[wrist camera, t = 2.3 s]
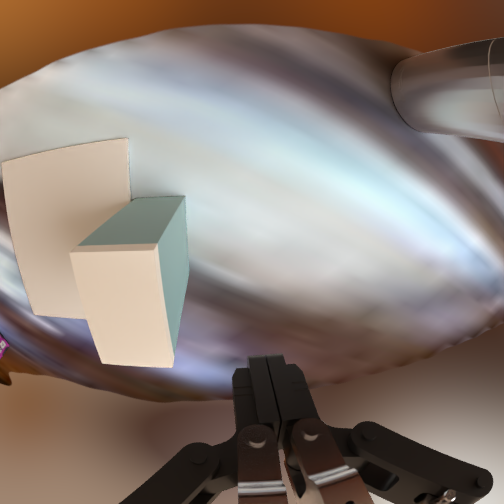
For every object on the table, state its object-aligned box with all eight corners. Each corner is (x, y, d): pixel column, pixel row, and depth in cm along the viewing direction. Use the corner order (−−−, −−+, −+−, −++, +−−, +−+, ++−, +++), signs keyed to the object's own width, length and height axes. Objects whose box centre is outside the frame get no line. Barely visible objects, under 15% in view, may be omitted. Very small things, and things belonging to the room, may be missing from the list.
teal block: (185, 195, 26) (153, 250, 14) (189, 271, 29) (172, 367, 17) (135, 198, 26) (69, 252, 13) (143, 272, 29) (102, 363, 16)
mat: (128, 137, 24) (126, 138, 23) (147, 318, 31) (146, 321, 31) (4, 161, 22) (1, 162, 21) (36, 312, 29) (34, 314, 29)
